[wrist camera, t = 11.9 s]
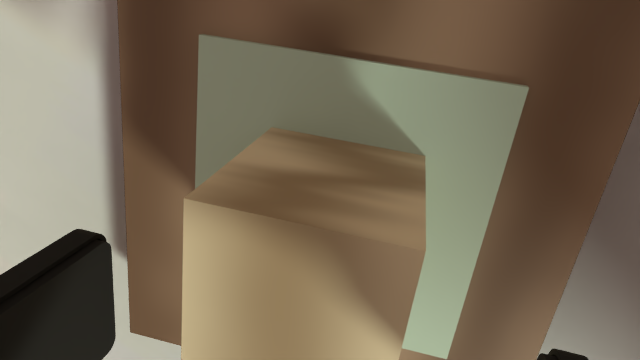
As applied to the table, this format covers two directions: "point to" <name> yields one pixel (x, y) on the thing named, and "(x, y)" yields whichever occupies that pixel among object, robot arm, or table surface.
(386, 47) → the walnut base
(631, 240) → the table surface
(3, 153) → the table surface
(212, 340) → the maple block
